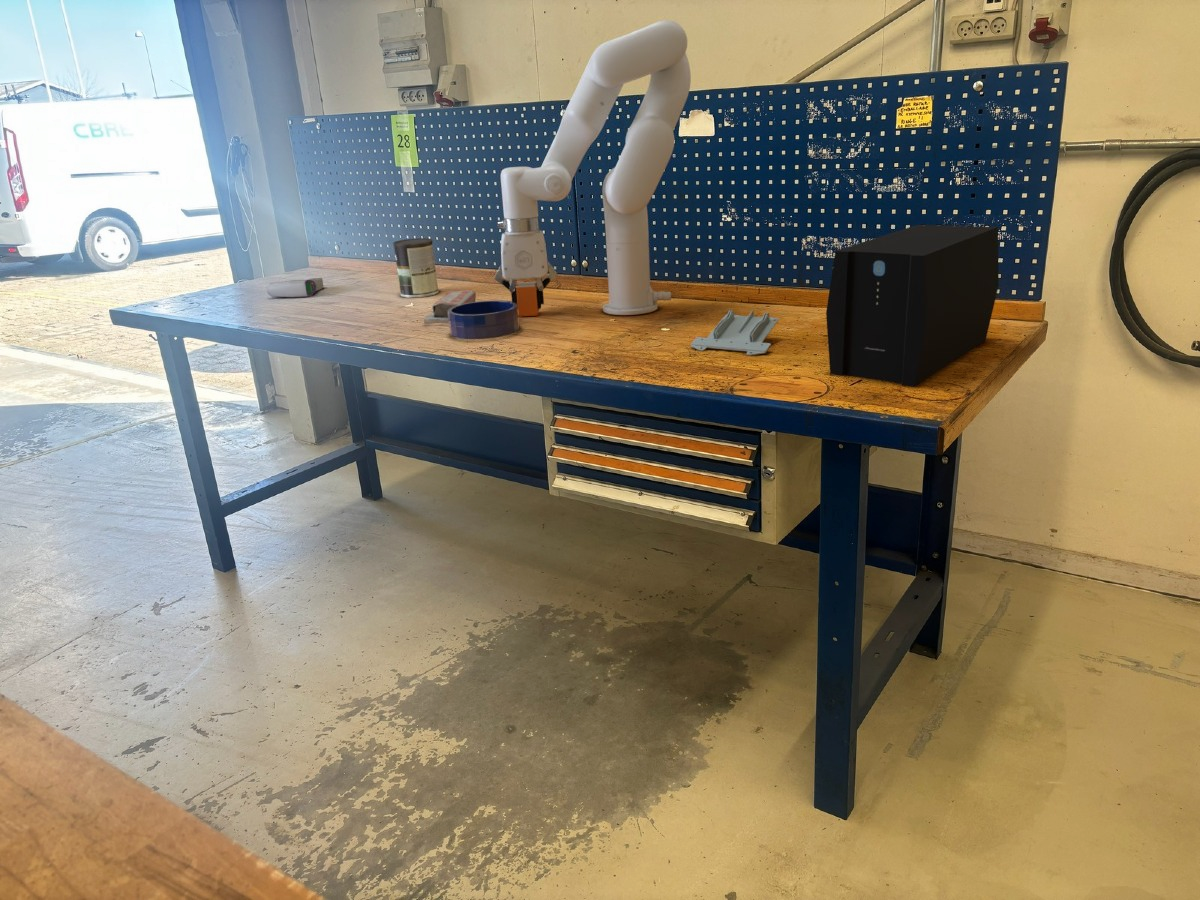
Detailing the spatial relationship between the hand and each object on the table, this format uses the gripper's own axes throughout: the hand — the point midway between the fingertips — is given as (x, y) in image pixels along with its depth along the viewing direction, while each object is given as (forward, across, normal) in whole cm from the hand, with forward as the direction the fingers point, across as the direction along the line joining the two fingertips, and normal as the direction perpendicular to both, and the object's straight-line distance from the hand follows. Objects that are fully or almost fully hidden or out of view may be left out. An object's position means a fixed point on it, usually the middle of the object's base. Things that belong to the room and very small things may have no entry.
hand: (528, 307), depth 194 cm
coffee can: (+3, -32, +38) cm, 50 cm away
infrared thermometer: (+3, -69, +51) cm, 86 cm away
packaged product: (+3, -18, +6) cm, 19 cm away
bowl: (+2, -9, -13) cm, 16 cm away
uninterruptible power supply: (+2, +70, -50) cm, 86 cm away
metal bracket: (+2, +42, -35) cm, 55 cm away
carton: (+1, 0, 0) cm, 1 cm away
